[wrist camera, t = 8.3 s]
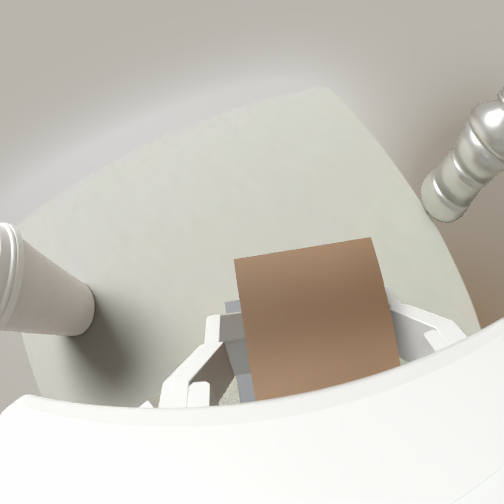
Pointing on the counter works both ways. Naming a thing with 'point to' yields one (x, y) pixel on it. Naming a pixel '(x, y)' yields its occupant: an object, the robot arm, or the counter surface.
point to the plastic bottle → (467, 163)
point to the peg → (315, 317)
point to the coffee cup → (39, 291)
